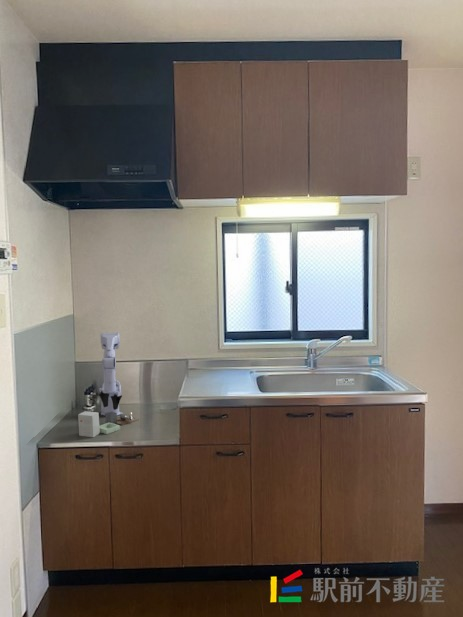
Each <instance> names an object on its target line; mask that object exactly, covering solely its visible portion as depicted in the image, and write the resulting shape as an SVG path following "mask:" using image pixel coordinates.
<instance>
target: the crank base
mask: <svg viewBox="0 0 463 617" xmlns="http://www.w3.org/2000/svg"><path fill="white" fill-rule="evenodd" d="M132 418H134V420H132V421H131V420H128V419H120V416H117V425H120V426H125V425H129V424H131V423H134V422H137V421H139V420H140V419H139V418H137V417H133V416H132Z"/></svg>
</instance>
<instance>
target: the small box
mask: <svg viewBox="0 0 463 617" xmlns="http://www.w3.org/2000/svg"><path fill="white" fill-rule="evenodd" d="M77 417H78V418H77V420H78V421H77V422H78V436H80V437H88V438H94V437H95V438H96V436H98V435H100V434H101V433H100V428H99V426H100V416H99V412H96V411H86V410H84V411H82V412H80V413H78V414H77Z"/></svg>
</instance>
